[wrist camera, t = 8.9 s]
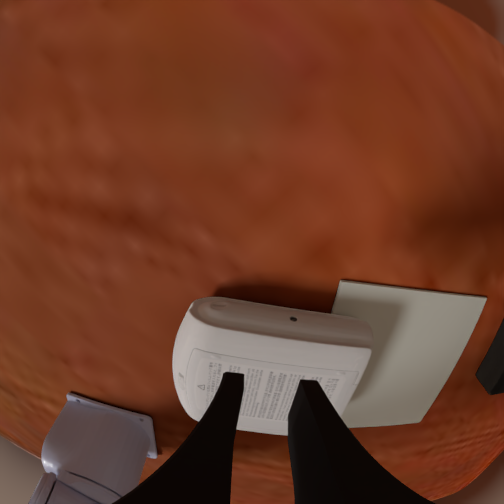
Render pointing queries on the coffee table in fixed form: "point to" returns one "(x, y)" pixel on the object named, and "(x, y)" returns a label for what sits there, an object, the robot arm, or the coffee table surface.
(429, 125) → the coffee table surface
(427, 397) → the mat
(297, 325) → the photo printer
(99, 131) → the coffee table surface
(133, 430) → the robot arm
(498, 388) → the coral
